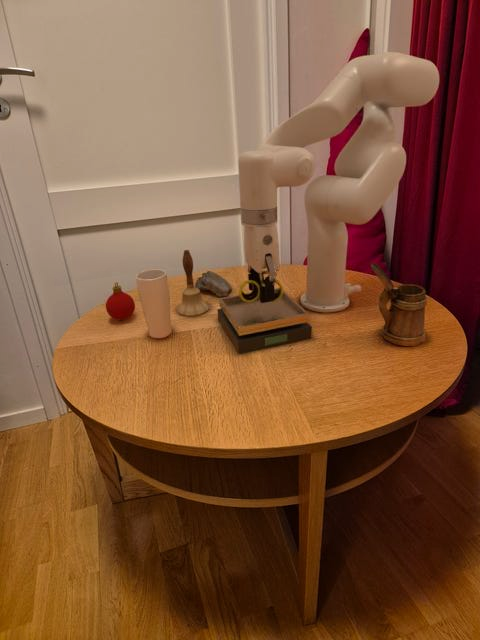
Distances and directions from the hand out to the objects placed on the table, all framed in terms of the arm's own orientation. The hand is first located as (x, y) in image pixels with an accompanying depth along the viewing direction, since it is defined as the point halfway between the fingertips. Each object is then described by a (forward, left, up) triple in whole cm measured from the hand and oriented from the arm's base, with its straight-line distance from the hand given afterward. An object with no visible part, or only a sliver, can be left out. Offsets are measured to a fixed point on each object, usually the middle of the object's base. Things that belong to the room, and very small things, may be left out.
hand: (261, 294), depth 92 cm
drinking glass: (+23, -7, -9) cm, 26 cm away
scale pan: (0, 0, -5) cm, 5 cm away
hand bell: (+13, -17, -9) cm, 23 cm away
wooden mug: (-25, +15, -9) cm, 30 cm away
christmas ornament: (+31, -19, -9) cm, 37 cm away
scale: (0, 0, -9) cm, 9 cm away
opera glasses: (0, 0, -1) cm, 1 cm away
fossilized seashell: (+5, -27, -9) cm, 29 cm away
